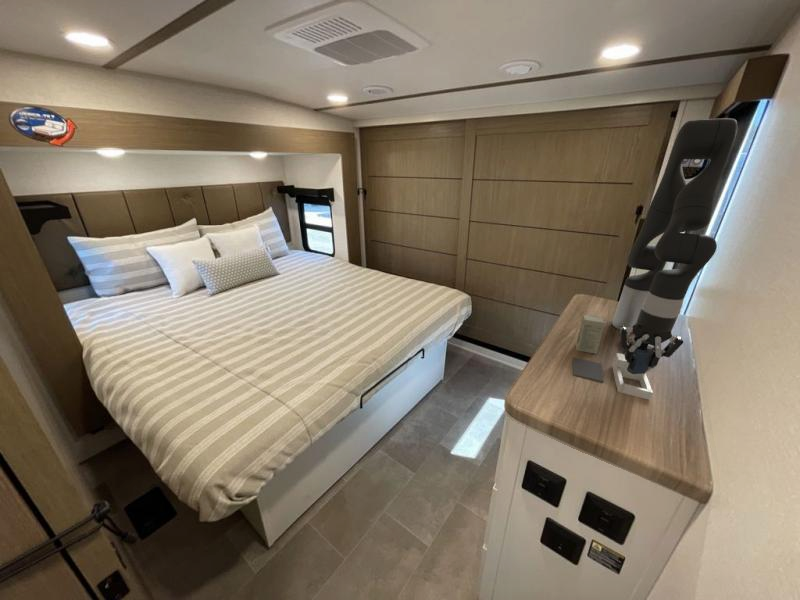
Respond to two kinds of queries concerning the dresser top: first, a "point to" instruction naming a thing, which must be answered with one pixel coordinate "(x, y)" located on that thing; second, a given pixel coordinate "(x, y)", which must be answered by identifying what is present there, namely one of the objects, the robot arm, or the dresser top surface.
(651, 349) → the vaping device
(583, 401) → the dresser top surface
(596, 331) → the skincare box
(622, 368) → the dock
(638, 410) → the dresser top surface
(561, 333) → the dresser top surface
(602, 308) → the dresser top surface
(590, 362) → the mat
